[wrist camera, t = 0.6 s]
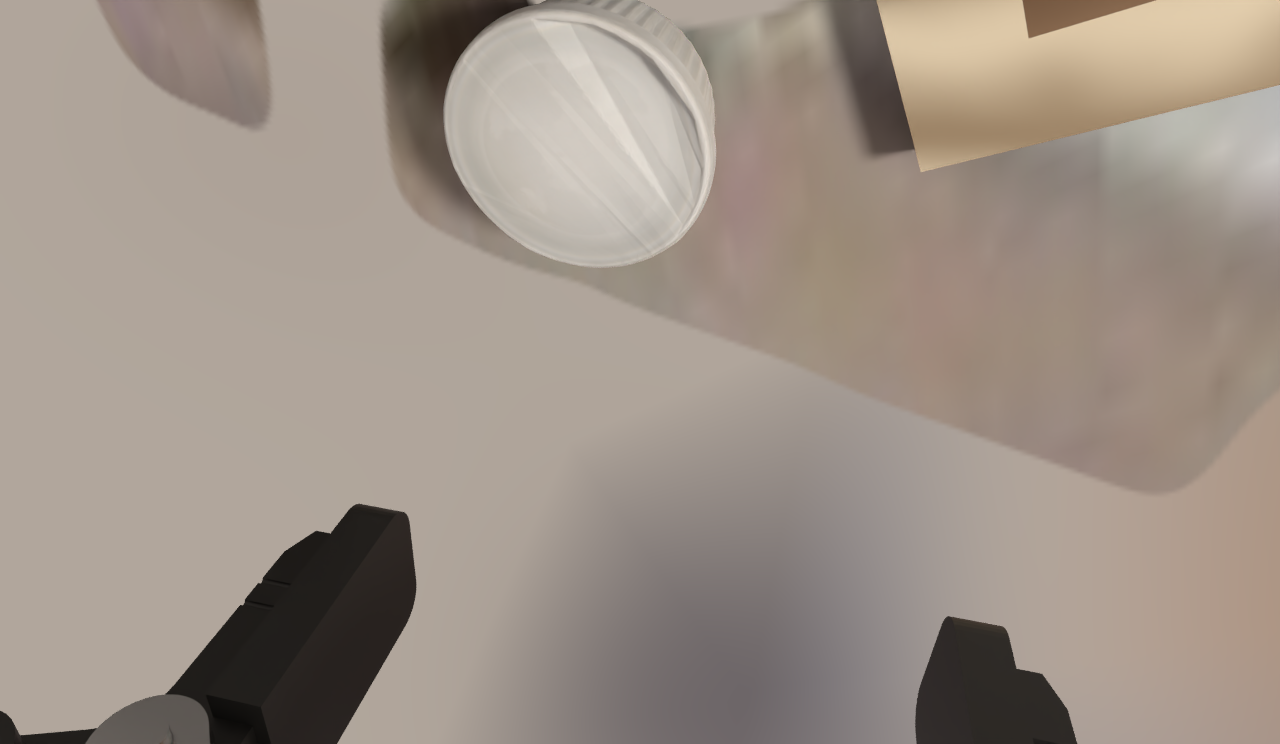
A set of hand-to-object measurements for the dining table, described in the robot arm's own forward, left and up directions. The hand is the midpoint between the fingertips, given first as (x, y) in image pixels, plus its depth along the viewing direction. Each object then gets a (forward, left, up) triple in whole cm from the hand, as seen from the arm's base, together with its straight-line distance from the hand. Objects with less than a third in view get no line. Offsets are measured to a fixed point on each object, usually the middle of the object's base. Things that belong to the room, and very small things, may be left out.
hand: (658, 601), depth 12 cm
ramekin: (+1, -11, -27) cm, 29 cm away
